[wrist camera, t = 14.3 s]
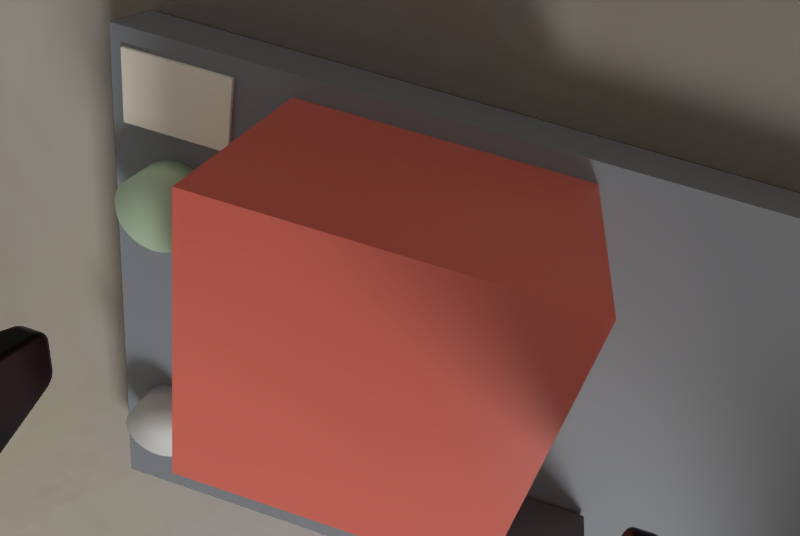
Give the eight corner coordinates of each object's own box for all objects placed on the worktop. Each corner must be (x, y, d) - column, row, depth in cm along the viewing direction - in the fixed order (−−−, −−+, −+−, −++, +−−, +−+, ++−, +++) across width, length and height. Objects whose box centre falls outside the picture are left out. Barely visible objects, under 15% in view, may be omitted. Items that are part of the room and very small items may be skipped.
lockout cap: (598, 183, 12) (616, 319, 8) (503, 408, 15) (483, 578, 11) (292, 97, 12) (171, 186, 8) (266, 333, 16) (172, 472, 12)
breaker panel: (992, 247, 12) (1081, 320, 10) (673, 608, 20) (687, 692, 18) (150, 10, 13) (75, 30, 11) (156, 434, 21) (112, 493, 19)
